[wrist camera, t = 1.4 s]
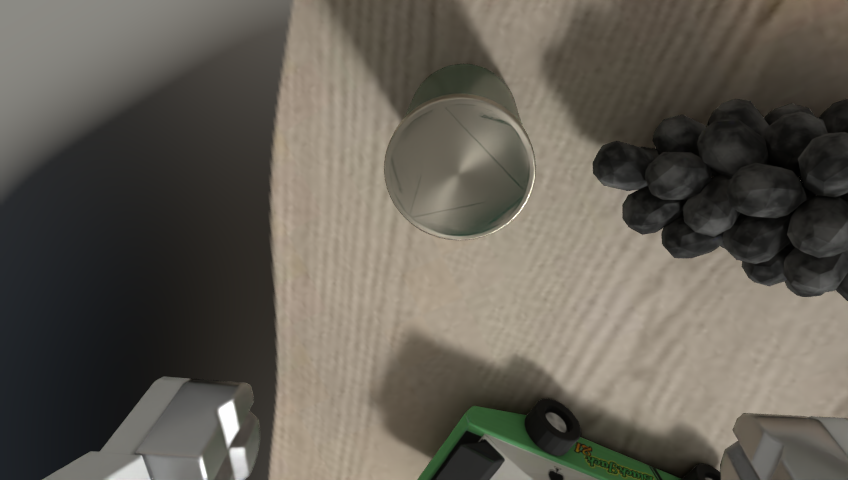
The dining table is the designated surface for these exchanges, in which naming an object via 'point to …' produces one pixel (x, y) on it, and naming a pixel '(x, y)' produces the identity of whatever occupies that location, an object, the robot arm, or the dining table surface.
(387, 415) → the dining table surface
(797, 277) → the fruit
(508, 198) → the tin
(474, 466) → the toy car
